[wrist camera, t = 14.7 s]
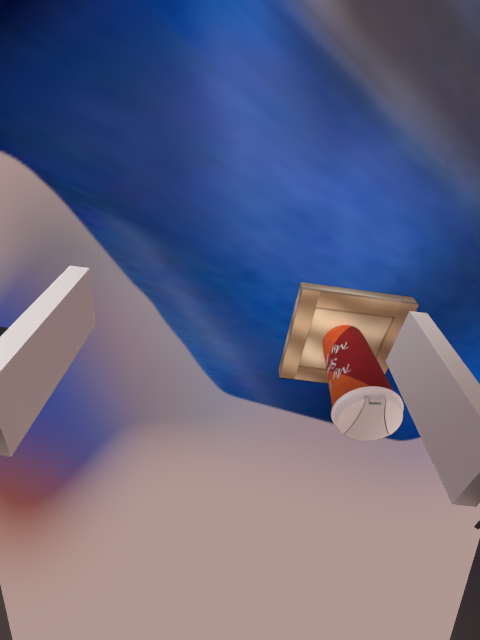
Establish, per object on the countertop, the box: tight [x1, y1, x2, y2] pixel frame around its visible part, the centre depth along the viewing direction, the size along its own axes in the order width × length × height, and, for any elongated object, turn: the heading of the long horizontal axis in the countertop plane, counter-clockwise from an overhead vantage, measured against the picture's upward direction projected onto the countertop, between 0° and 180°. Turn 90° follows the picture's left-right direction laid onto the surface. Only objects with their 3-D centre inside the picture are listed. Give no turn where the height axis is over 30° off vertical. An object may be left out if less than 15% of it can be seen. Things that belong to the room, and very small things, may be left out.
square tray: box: [279, 282, 419, 383], centre depth 54 cm, size 16×16×2 cm
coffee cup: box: [323, 325, 404, 441], centre depth 47 cm, size 8×8×15 cm
